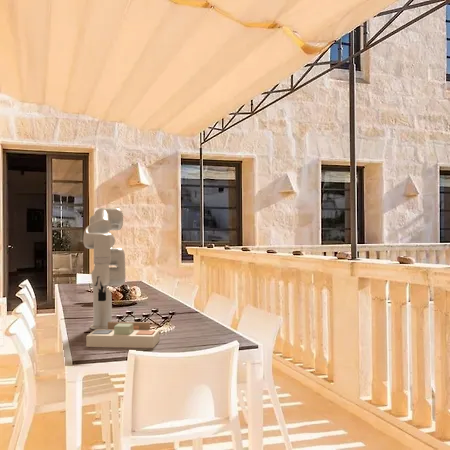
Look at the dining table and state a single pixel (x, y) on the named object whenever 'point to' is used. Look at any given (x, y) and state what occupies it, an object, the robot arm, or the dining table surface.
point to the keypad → (124, 337)
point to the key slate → (102, 332)
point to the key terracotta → (145, 332)
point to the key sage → (123, 328)
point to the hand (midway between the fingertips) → (102, 300)
